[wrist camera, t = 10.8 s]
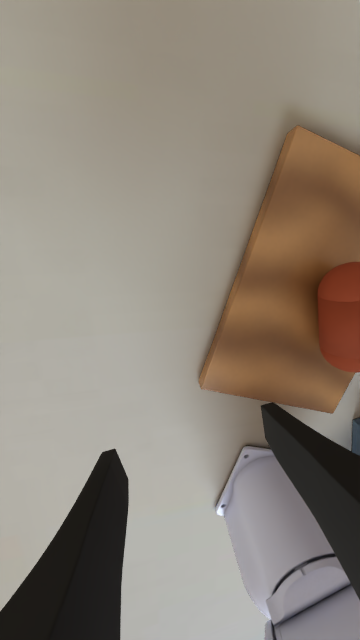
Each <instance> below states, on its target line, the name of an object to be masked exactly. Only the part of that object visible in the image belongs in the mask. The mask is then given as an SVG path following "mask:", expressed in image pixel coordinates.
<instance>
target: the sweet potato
mask: <svg viewBox="0 0 360 640" xmlns="http://www.w3.org/2000/svg"><path fill="white" fill-rule="evenodd" d="M318 323H319V346H320V351H321V353H322V355H323V357H324V358H325V359H326V361H327V362H328V363H330V364H331V365H332V366H334V367H336V368H338V369H340V370H343V371H346V372H360V262H348V263H345V264H341V265H339V266H337V267H335V268H333V269H332V270H330V271H329V272H328V273H327V274H326V275H325V276H324V277H323V279H322V280H321V282H320V284H319V287H318Z"/></svg>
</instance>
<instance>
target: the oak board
mask: <svg viewBox="0 0 360 640" xmlns="http://www.w3.org/2000/svg"><path fill="white" fill-rule="evenodd" d="M348 262H360V156H359V155H357V154H355V153H353V152H351V151H349V150H347V149H345V148H343V147H341V146H339V145H337V144H335V143H333V142H331V141H329V140H327V139H325V138H323V137H321V136H319V135H317V134H315V133H313V132H311V131H309V130H307V129H305V128H303V127H301V126H296V127H295V128H294V129H292V130H291V131H290V132H289V133H288V134H287V136H286V139H285V142H284V145H283V148H282V150H281V153H280V156H279V159H278V161H277V164H276V167H275V170H274V173H273V175H272V178H271V181H270V184H269V186H268V189H267V192H266V195H265V198H264V200H263V203H262V206H261V209H260V212H259V214H258V217H257V220H256V223H255V225H254V228H253V231H252V234H251V237H250V239H249V242H248V245H247V248H246V250H245V253H244V256H243V259H242V262H241V264H240V267H239V270H238V273H237V276H236V278H235V281H234V284H233V287H232V289H231V292H230V295H229V298H228V301H227V303H226V306H225V309H224V312H223V314H222V317H221V320H220V323H219V326H218V328H217V331H216V334H215V337H214V340H213V342H212V345H211V348H210V351H209V353H208V356H207V359H206V362H205V365H204V367H203V370H202V373H201V376H200V378H199V384H200V387H201V389H204V390H210V391H215V392H220V393H226V394H231V395H236V396H242V397H247V398H252V399H258V400H263V401H268V402H274V403H279V404H284V405H290V406H295V407H300V408H305V409H311V410H316V411H321V412H327V413H333V412H334V410H335V409H336V407H337V405H338V403H339V401H340V400H341V398H342V396H343V394H344V392H345V390H346V389H347V387H348V385H349V383H350V381H351V380H352V378H353V376H354V374H355V372H346V371H343V370H340V369H338V368H336V367H334V366H332V365H331V364H330V363H328V362H327V361H326V359H325V358H324V357H323V355H322V353H321V351H320V346H319V323H318V287H319V284H320V282H321V280H322V279H323V277H324V276H325V275H326V274H327V273H328V272H329V271H330V270H332V269H333V268H335V267H337V266H339V265H341V264H345V263H348Z"/></svg>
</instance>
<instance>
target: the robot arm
mask: <svg viewBox="0 0 360 640" xmlns="http://www.w3.org/2000/svg"><path fill="white" fill-rule="evenodd" d="M261 411H262V418H263V425H264V432H265V438H266V440H267V442H268V444H269V446H270V448H271V449H266V448H258V447H251V446H246V447H244V448H243V449H242V451H241V454H240V456H239V458H238V460H237V462H236V465H235V467H234V469H233V471H232V473H231V476H230V478H229V480H228V482H227V484H226V487H225V489H224V491H223V493H222V495H221V498H220V500H219V502H218V504H217V507H216V509H215V511H216V514H217V515H222V516H224V518H225V521H226V525H227V528H228V532H229V535H230V539H231V542H232V546H233V549H234V553H235V556H236V560H237V563H238V566H239V570H240V573H241V577H242V580H243V583H244V586H245V588H246V590H247V592H248V594H249V596H250V598H251V599H252V601H253V602H254V604H255V605H256V606H257V608H258V609H259V610H260V611H261V612H262V613H263V614H264V615H265V616H266V617H267V618H268V619H270V620H269V621H267V622H266V625H265V640H360V456H359V455H357V454H355V453H353V452H351V451H349V450H347V449H346V448H344V447H342V446H340V445H338V444H337V443H335V442H333V441H331V440H330V439H328V438H326V437H325V436H323V435H321V434H320V433H318V432H316V431H315V430H313V429H312V428H310V427H309V426H307V425H305V424H304V423H302V422H301V421H299V420H298V419H296V418H295V417H293V416H292V415H291V414H289V413H288V412H286V411H285V410H283V409H282V408H281V407H279V406H278V405H276V404H275V403H273V402H272V403H268V404H265V405H262V406H261ZM127 515H128V477H127V475H126V473H125V470H124V468H123V466H122V463H121V461H120V459H119V456H118V454H117V452H116V449H112V450H109V451H105V452H102V454H101V455H100V457H99V459H98V461H97V463H96V465H95V467H94V469H93V471H92V473H91V475H90V476H89V478H88V480H87V482H86V484H85V486H84V488H83V489H82V491H81V493H80V495H79V497H78V498H77V500H76V502H75V504H74V506H73V507H72V509H71V511H70V512H69V514H68V516H67V517H66V519H65V521H64V522H63V524H62V526H61V527H60V529H59V530H58V532H57V534H56V535H55V537H54V538H53V540H52V541H51V543H50V544H49V546H48V547H47V549H46V550H45V552H44V553H43V555H42V556H41V558H40V559H39V561H38V562H37V564H36V565H35V566H34V568H33V569H32V570H31V572H30V573H29V575H28V576H27V577H26V579H25V580H24V581H23V583H22V584H21V585H20V587H19V588H18V589H17V591H16V592H15V593H14V595H13V596H12V597H11V599H10V600H9V601H8V603H7V604H6V605H5V606H4V608H3V609H2V610H1V611H0V640H120V615H121V581H122V567H123V557H124V547H125V536H126V526H127Z"/></svg>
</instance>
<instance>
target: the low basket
mask: <svg viewBox="0 0 360 640" xmlns="http://www.w3.org/2000/svg"><path fill="white" fill-rule="evenodd" d="M352 452H353V453H355V454H357V455H359V456H360V418H357V419H354V420H353V429H352Z"/></svg>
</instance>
